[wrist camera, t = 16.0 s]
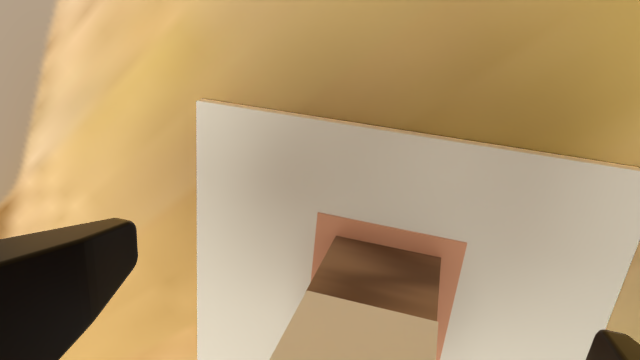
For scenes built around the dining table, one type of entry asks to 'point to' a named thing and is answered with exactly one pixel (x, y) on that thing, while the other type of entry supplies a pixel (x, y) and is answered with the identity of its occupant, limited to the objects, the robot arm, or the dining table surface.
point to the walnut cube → (380, 277)
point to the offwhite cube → (354, 332)
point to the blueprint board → (406, 230)
